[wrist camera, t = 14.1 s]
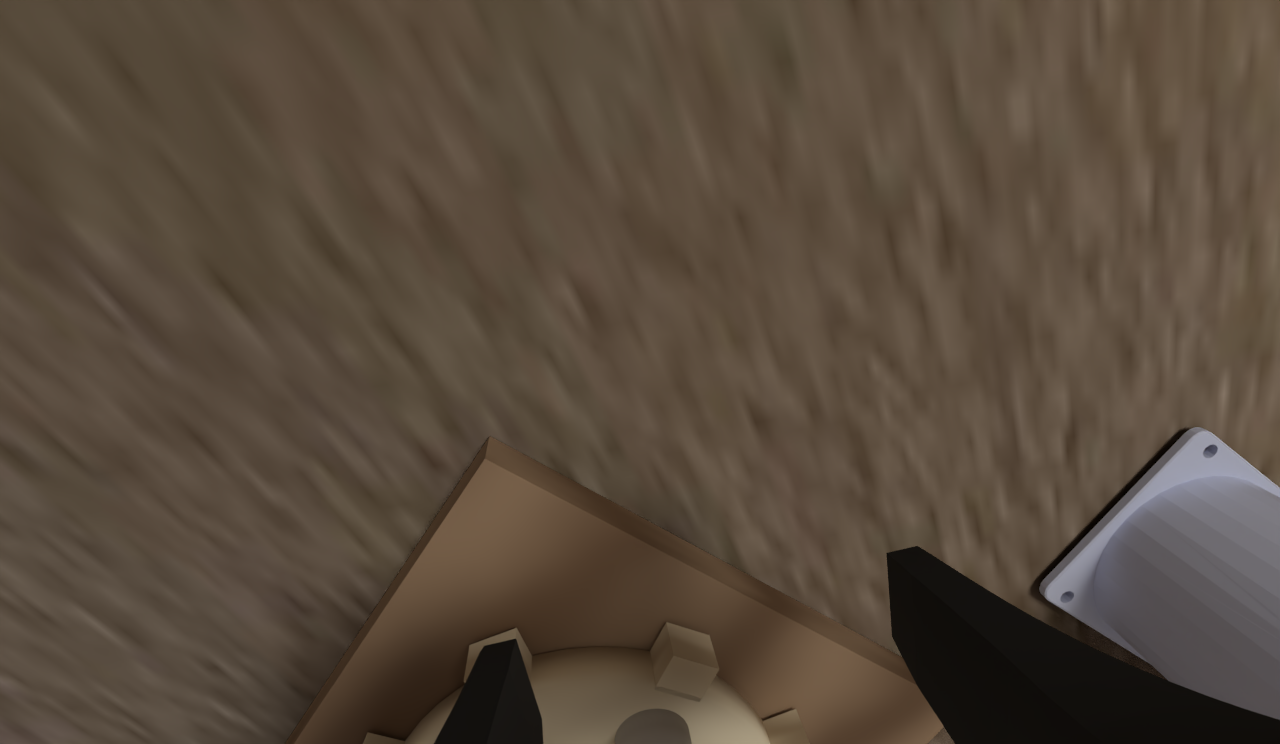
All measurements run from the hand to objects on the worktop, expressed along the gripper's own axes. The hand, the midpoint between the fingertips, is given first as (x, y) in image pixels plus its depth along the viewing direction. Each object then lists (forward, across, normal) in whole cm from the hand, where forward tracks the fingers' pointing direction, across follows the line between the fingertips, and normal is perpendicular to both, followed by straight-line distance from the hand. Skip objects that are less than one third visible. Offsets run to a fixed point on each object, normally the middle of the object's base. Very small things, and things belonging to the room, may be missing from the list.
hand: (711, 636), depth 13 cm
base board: (+9, +5, +13) cm, 17 cm away
